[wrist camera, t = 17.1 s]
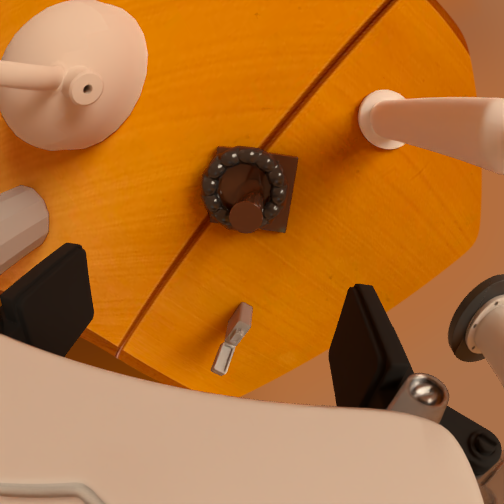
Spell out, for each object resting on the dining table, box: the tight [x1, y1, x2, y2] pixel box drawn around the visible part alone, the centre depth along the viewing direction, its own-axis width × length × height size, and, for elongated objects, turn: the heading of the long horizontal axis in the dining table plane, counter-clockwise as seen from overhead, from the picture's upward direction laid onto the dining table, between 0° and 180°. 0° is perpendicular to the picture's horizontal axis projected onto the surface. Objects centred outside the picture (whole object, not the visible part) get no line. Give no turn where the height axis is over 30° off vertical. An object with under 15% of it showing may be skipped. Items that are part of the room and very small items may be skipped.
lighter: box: [211, 302, 253, 376], centre depth 41 cm, size 7×2×8 cm, turn 149°
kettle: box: [0, 0, 148, 151], centre depth 23 cm, size 20×21×18 cm
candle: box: [358, 90, 504, 175], centre depth 21 cm, size 7×7×25 cm
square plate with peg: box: [210, 146, 298, 233], centre depth 32 cm, size 9×9×11 cm
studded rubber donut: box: [200, 146, 289, 231], centre depth 35 cm, size 10×10×2 cm
